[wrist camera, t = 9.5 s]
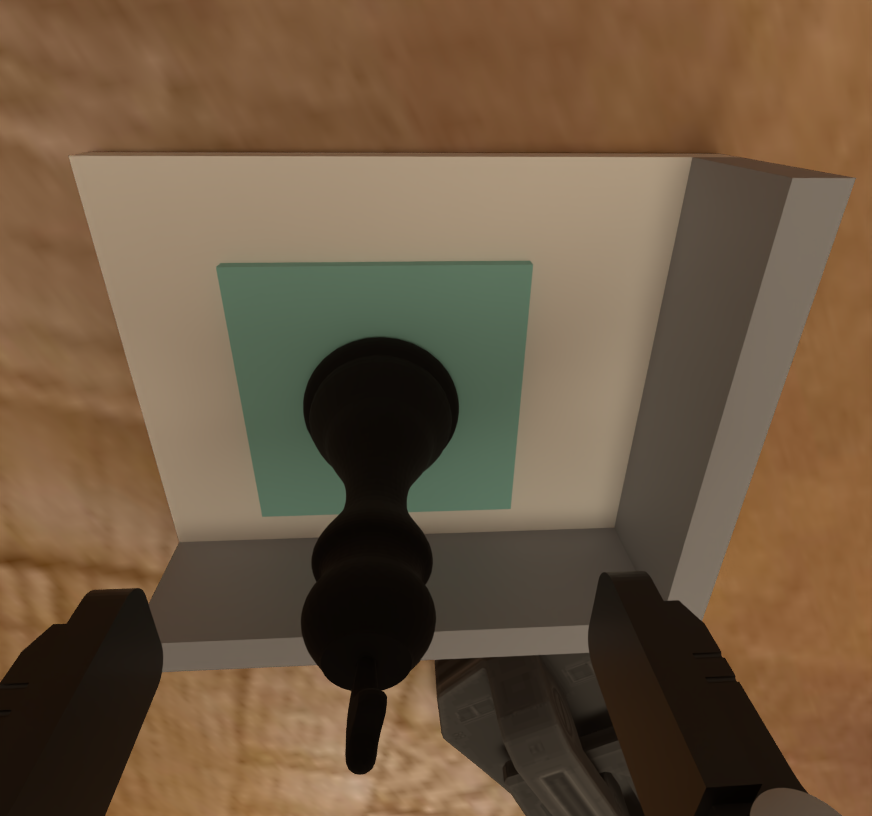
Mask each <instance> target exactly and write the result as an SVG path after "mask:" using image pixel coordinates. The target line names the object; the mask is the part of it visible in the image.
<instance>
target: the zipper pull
mask: <svg viewBox="0 0 872 816" xmlns="http://www.w3.org/2000/svg"><path fill="white" fill-rule="evenodd" d="M435 673H436V688H437V701H438V709H439V717H440V725H441V733H442V736H443V738H444V739H445V740H446V741H447V742H448V743H450V744H451V745H452V746H453V747H455V748H456V749H457V750H458V751H460V752H461V753H462V754H463V755H465V756H466V757H467V758H468V759H470V760H471V761H472V762H473V763H475V764H476V765H477V766H478V767H480V768H481V769H482V770H483V771H484V772H486V773H487V774H488V775H489V776H490V777H491V778H493V779H494V780H495V781H496V782H497V783H499V784H500V785H501V786H502V787H503V788H505V789H506V790H507V791H508V792H509V793H511V794H512V796H513V797H514V799H515V800H516V802H517V803H518V805H519V806H520V808H521V809H522V811H523V812H524V814H525V815H526V816H645V815H644V812H643V809H642V806H641V804H640V801H639V798H638V795H637V792H636V789H635V786H634V784H633V781H632V778H631V775H630V772H629V769H628V766H627V764H626V761H625V758H624V755H623V752H622V749H621V747H620V744H619V741H618V738H617V735H616V732H615V729H614V727H613V724H612V721H611V718H610V715H609V712H608V709H607V707H606V704H605V701H604V698H603V695H602V692H601V689H600V687H599V684H598V681H597V678H596V675H595V672H594V669H593V666H592V663H591V659H590V654H589V653H571V654H549V655H527V656H505V657H483V658H461V659H439V660H435Z"/></svg>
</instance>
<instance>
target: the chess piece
mask: <svg viewBox="0 0 872 816" xmlns="http://www.w3.org/2000/svg"><path fill="white" fill-rule="evenodd" d="M303 414H304V420H305V424H306V428H307V430H308V432H309V434H310V436H311V438H312V440H313V442H314V443H315V446H316V447H317V449H318V451H319V453H320V454H321V455H322V457H323V458H324V459H325V460H326V462H327V463H328V464H329V465H330V466H331V467H333V469H334V471H335V472H336V474H337V475H338V476H339V478H340V479H341V480H342V482H343V483H344V486H345V490H346V502H345V506H344V509H343V511H342V512H341V513H340V514H339V515H338V516H337V517H336V518H335V519H334V520H333V521H332V522H331V523H330V524H329V525H328V526H327V527H326V528H325V530H324V531H323V532H322V533H321V535H320V536H319V538H318V540H317V542H316V544H315V546H314V549H313V553H312V558H311V567H312V572H313V576H314V578H315V580H316V583H315V584H314V585H313V587H312V588H311V590H310V592H309V594H308V595H307V597H306V600H305V603H304V605H303V608H302V613H301V633H302V637H303V640H304V643H305V646H306V648H307V651H308V653H309V654H310V656H311V657H312V659H313V660H314V662H315V663H316V664H317V665H318V666H319V668H320V669H321V670H322V671H323V673H324V675H325V676H326V677H327V679H328V680H329V681H331V682H332V683H334V684H335V685H337V686H339V687H341V688H343V689H347V690H350V691H352V692H351V697H350V703H349V709H348V717H347V728H346V753H345V755H346V764H347V767H348V769H349V770H350V771H351V772H353V773H354V774H359V775H361V774H365V773H367V772H369V771H370V770H371V769H372V768H373V766H374V764H375V761H376V756H377V748H378V742H379V737H380V732H381V729H382V725H383V721H384V718H385V713H386V706H387V696H386V694H385V693H384V692H383V691H381V690H385V689H388V688H391V687H393V686H395V685H397V684H398V683H400V682H401V681H402V680H403V679H405V678H406V676H407V675H408V674H409V672H410V671H411V670H412V669H413V668H414V667H415V666H416V665H417V664H418V663H419V662H420V660H421V659H422V658H423V656H424V655H425V653H426V652H427V650H428V648H429V646H430V644H431V642H432V639H433V636H434V632H435V626H436V610H435V606H434V601H433V599H432V596H431V594H430V592H429V590H428V588H427V587H426V583H427V582H428V580H429V578H430V575H431V573H432V567H433V556H432V550H431V547H430V544H429V542H428V540H427V538H426V536H425V534H424V533H423V531H422V530H421V529H420V527H419V526H418V525H417V524H416V522H415V521H414V520H413V519H412V518H411V516H410V514H409V513H408V510H407V496H408V492H409V489H410V487H411V486H412V485H413V483H414V482H415V481H416V480H417V479H418V478H419V477H420V476H421V475H422V473H423V472H424V471H425V470H427V469H428V468H429V467H430V466H431V465H432V464H433V463H434V462H435V461H436V460H437V459H438V458H439V456H440V455H441V454H442V452H443V450H444V449H445V448H446V446H447V445H448V443H449V442H450V440H451V439H452V437H453V434H454V432H455V429H456V426H457V422H458V416H459V400H458V395H457V391H456V387H455V385H454V382H453V380H452V378H451V376H450V374H449V373H448V371H447V370H446V369H445V367H444V366H443V365H442V364H441V362H440V361H439V360H438V359H436V358H435V357H434V356H433V355H432V354H430V353H429V352H428V351H426V350H424V349H423V348H421V347H419V346H417V345H415V344H413V343H410V342H407V341H403V340H400V339H395V338H386V337H374V338H365V339H361V340H357V341H353V342H350V343H348V344H346V345H344V346H342V347H339V348H337V349H336V350H334V351H333V352H332V353H330V354H329V355H328V356H326V357H325V358H324V359H323V360H322V361H321V363H320V364H319V365H318V366H317V367H316V368H315V370H314V371H313V373H312V375H311V377H310V379H309V381H308V383H307V386H306V389H305V393H304V399H303Z"/></svg>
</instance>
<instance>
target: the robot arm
mask: <svg viewBox="0 0 872 816" xmlns="http://www.w3.org/2000/svg"><path fill="white" fill-rule="evenodd" d="M588 647H589V654H590V659H591V663H592V666H593V669H594V672H595V675H596V678H597V681H598V684H599V687H600V689H601V692H602V695H603V698H604V701H605V704H606V707H607V709H608V712H609V715H610V718H611V721H612V724H613V727H614V729H615V732H616V735H617V738H618V741H619V744H620V747H621V749H622V752H623V755H624V758H625V761H626V764H627V766H628V769H629V772H630V775H631V778H632V781H633V784H634V786H635V789H636V792H637V795H638V798H639V801H640V804H641V806H642V809H643V812H644V815H645V816H842V815H841V814H839V813H838V812H837V811H836V810H834V809H833V808H832V807H830V806H829V805H828V804H826V803H825V802H823V801H821V800H820V799H818V798H816V797H814V796H812V795H810V794H808V793H807V791H806V790H805V789H804V788H803V786H802V785H801V784H800V782H799V781H798V779H797V778H796V776H795V775H794V773H793V772H792V770H791V768H790V766H789V765H788V763H787V761H786V760H785V758H784V756H783V755H782V753H781V751H780V750H779V748H778V746H777V745H776V743H775V741H774V740H773V738H772V736H771V735H770V733H769V731H768V730H767V728H766V726H765V725H764V723H763V721H762V719H761V718H760V716H759V714H758V713H757V711H756V709H755V708H754V706H753V704H752V703H751V701H750V699H749V698H748V696H747V694H746V693H745V691H744V689H743V688H742V686H741V684H740V683H739V682H737V681H736V679H735V674H734V672H733V671H732V669H731V667H730V666H729V664H728V662H727V661H726V659H725V658H722V656H721V651H720V649H719V647H718V646H717V644H716V642H715V641H714V639H713V637H712V636H711V634H710V632H709V630H708V629H707V627H706V625H705V624H704V623H703V622H702V621H701V620H700V619H699V618H698V617H697V616H695V615H694V614H693V613H692V612H691V611H690V610H689V609H688V608H687V607H686V606H685V605H683V604H682V603H681V602H680V601H679V600H671V601H664V600H663V599H662V597H661V595H660V593H659V591H658V589H657V588H656V586H655V584H654V582H653V580H652V578H651V577H650V575H649V574H648V573H647V572H645V571H621V572H603V573H601V575H600V577H599V580H598V584H597V589H596V594H595V599H594V604H593V609H592V614H591V619H590V623H589V629H588ZM162 668H163V648H162V644H161V641H160V638H159V635H158V632H157V629H156V626H155V623H154V620H153V617H152V614H151V610H150V607H149V604H148V601H147V598H146V595H145V593H144V592H143V590H141V589H139V588H132V589H106V590H92V591H90V592H88V593H87V594H86V595H85V596H84V598H83V599H82V600H81V602H80V604H79V605H78V607H77V608H76V610H75V611H74V613H73V615H72V616H71V618H70V619H69V621H68V622H67V624H53V625H52V626H51V627H50V628H48V629H47V630H46V631H45V632H44V633H43V634H42V635H40V636H39V637H38V638H37V639H36V640H35V641H34V642H32V643H31V644H30V645H29V646H28V647H27V648H25V649H24V650H23V651H22V652H21V653H20V655H19V656H18V658H17V659H16V661H15V662H14V664H13V665H12V667H11V668H10V669H9V671H8V672H7V674H6V675H5V677H4V678H3V680H2V681H1V683H0V816H105V814H106V812H107V810H108V807H109V805H110V802H111V800H112V797H113V795H114V792H115V790H116V788H117V785H118V783H119V780H120V778H121V775H122V773H123V771H124V768H125V766H126V763H127V761H128V758H129V756H130V753H131V751H132V749H133V746H134V744H135V741H136V739H137V736H138V734H139V731H140V729H141V727H142V724H143V722H144V719H145V717H146V714H147V712H148V710H149V707H150V705H151V702H152V700H153V697H154V695H155V692H156V690H157V688H158V685H159V682H160V678H161V674H162Z"/></svg>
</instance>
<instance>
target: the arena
mask: <svg viewBox="0 0 872 816" xmlns="http://www.w3.org/2000/svg"><path fill="white" fill-rule="evenodd" d="M69 159H70V163H71V166H72V170H73V173H74V177H75V180H76V184H77V187H78V191H79V194H80V198H81V201H82V205H83V208H84V212H85V215H86V219H87V222H88V226H89V229H90V233H91V236H92V240H93V243H94V247H95V250H96V254H97V257H98V261H99V264H100V268H101V271H102V275H103V278H104V281H105V285H106V288H107V292H108V295H109V299H110V302H111V306H112V309H113V313H114V316H115V320H116V323H117V327H118V330H119V334H120V337H121V341H122V344H123V348H124V351H125V355H126V358H127V362H128V365H129V369H130V372H131V376H132V379H133V383H134V386H135V390H136V393H137V397H138V400H139V403H140V407H141V410H142V414H143V417H144V421H145V424H146V428H147V431H148V435H149V438H150V442H151V445H152V449H153V452H154V456H155V459H156V463H157V466H158V470H159V473H160V477H161V480H162V484H163V487H164V491H165V494H166V498H167V501H168V505H169V508H170V512H171V515H172V518H173V522H174V525H175V529H176V532H177V536H178V539H179V544H178V546H177V548H176V550H175V552H174V554H173V556H172V558H171V560H170V562H169V564H168V566H167V568H166V570H165V572H164V574H163V576H162V578H161V580H160V582H159V584H158V586H157V588H156V590H155V592H154V594H153V596H152V598H151V600H150V602H149V607H150V610H151V614H152V617H153V620H154V623H155V626H156V629H157V632H158V635H159V638H160V641H161V644H162V648H163V668H162V672H175V671H197V670H219V669H241V668H263V667H285V666H307V665H317V664H316V663H315V662H314V660H313V659H312V657H311V656H310V654H309V653H308V651H307V648H306V646H305V643H304V640H303V637H302V633H301V613H302V608H303V605H304V603H305V600H306V597H307V595H308V594H309V592H310V590H311V588H312V587H313V585H314V584H315V583H316V580H315V578H314V576H313V572H312V567H311V558H312V553H313V549H314V546H315V544H316V542H317V540H318V538H319V536H320V535H321V533H322V532H323V531H324V530H325V528H326V527H327V526H328V525H329V524H330V523H331V522H332V521H333V520H334V519H335V518H336V517H337V516H338V515H339V514H337V515H305V516H273V517H262V513H261V507H260V502H259V497H258V491H257V486H256V481H255V475H254V470H253V464H252V459H251V454H250V448H249V443H248V437H247V432H246V427H245V421H244V416H243V411H242V405H241V400H240V394H239V389H238V384H237V378H236V373H235V368H234V362H233V357H232V351H231V346H230V341H229V335H228V330H227V324H226V319H225V314H224V308H223V303H222V298H221V292H220V287H219V281H218V276H217V271H216V267H217V266H218V265H219V264H220V263H284V262H415V261H531V263H532V264H533V272H532V283H531V293H530V304H529V315H528V326H527V337H526V348H525V359H524V370H523V381H522V391H521V402H520V413H519V424H518V435H517V446H516V457H515V468H514V479H513V489H512V500H511V509H497V510H465V511H433V512H408V513H409V514H410V516H411V518H412V519H413V520H414V521H415V522H416V524H417V525H418V526H419V527H420V529H421V530H422V531H423V533H424V534H425V536H426V538H427V540H428V542H429V544H430V547H431V550H432V556H433V567H432V573H431V575H430V578H429V580H428V582H427V583H426V587H427V588H428V590H429V592H430V594H431V596H432V599H433V601H434V606H435V610H436V626H435V632H434V636H433V639H432V642H431V644H430V646H429V648H428V650H427V652H426V653H425V655H424V656H423V658H422V659H421V660H439V659H461V658H483V657H505V656H527V655H549V654H571V653H589V647H588V629H589V623H590V619H591V614H592V609H593V604H594V599H595V594H596V589H597V584H598V580H599V577H600V575H601V573H603V572H621V571H645V572H647V573H648V574H649V575H650V577H651V578H652V580H653V582H654V584H655V586H656V588H657V589H658V591H659V593H660V595H661V597H662V599H663V600H664V601H671V600H679V601H680V602H681V603H682V604H683V605H685V606H686V607H687V608H688V609H689V610H690V611H691V612H692V613H693V614H694V615H695V616H697V617H698V618H699V619H700V620H701V621H702V619H703V616H704V613H705V611H706V608H707V605H708V602H709V599H710V596H711V593H712V590H713V587H714V585H715V582H716V579H717V576H718V573H719V570H720V567H721V564H722V562H723V559H724V556H725V553H726V550H727V547H728V544H729V541H730V539H731V536H732V533H733V530H734V527H735V524H736V521H737V518H738V516H739V513H740V510H741V507H742V504H743V501H744V498H745V495H746V493H747V490H748V487H749V484H750V481H751V478H752V475H753V472H754V469H755V467H756V464H757V461H758V458H759V455H760V452H761V449H762V446H763V444H764V441H765V438H766V435H767V432H768V429H769V426H770V423H771V421H772V418H773V415H774V412H775V409H776V406H777V403H778V400H779V398H780V395H781V392H782V389H783V386H784V383H785V380H786V377H787V374H788V372H789V369H790V366H791V363H792V360H793V357H794V354H795V351H796V349H797V346H798V343H799V340H800V337H801V334H802V331H803V328H804V326H805V323H806V320H807V317H808V314H809V311H810V308H811V305H812V303H813V300H814V297H815V294H816V291H817V288H818V285H819V282H820V280H821V277H822V274H823V271H824V268H825V265H826V262H827V259H828V256H829V254H830V251H831V248H832V245H833V242H834V239H835V236H836V233H837V231H838V228H839V225H840V222H841V219H842V216H843V213H844V210H845V208H846V205H847V202H848V199H849V196H850V193H851V190H852V187H853V185H854V182H855V179H856V178H853V177H847V176H842V175H836V174H831V173H825V172H819V171H814V170H808V169H803V168H797V167H791V166H786V165H780V164H775V163H769V162H763V161H758V160H752V159H747V158H741V157H735V156H730V155H724V154H649V153H270V152H87V153H81V154H76V155H70V156H69Z"/></svg>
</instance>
